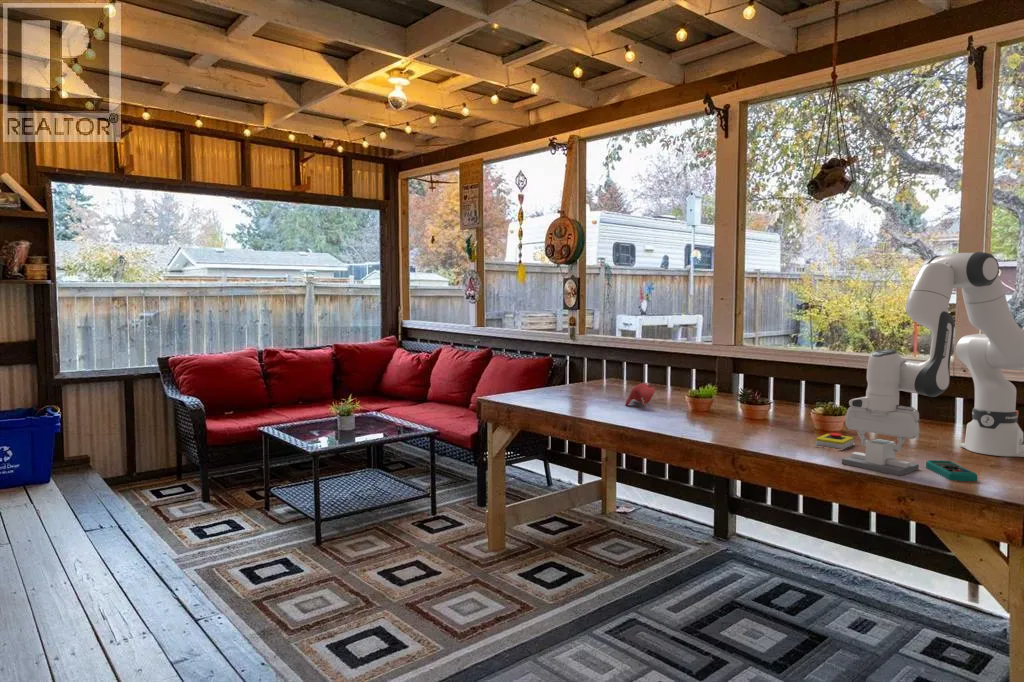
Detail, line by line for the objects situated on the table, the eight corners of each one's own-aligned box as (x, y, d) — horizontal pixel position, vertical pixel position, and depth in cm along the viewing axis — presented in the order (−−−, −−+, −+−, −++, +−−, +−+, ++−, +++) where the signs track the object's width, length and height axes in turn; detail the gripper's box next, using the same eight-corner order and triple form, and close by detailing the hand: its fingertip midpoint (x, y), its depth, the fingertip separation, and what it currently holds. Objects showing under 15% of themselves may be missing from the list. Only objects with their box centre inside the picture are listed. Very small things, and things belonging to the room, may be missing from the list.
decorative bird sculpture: (641, 420, 298) (664, 396, 297) (626, 406, 297) (649, 382, 296) (630, 409, 326) (651, 387, 325) (616, 396, 325) (637, 374, 325)
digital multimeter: (950, 482, 187) (951, 472, 186) (924, 468, 201) (925, 459, 201) (978, 483, 186) (979, 473, 185) (950, 469, 200) (951, 460, 200)
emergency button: (856, 433, 232) (840, 440, 221) (855, 445, 232) (840, 453, 221) (828, 429, 238) (812, 435, 228) (828, 441, 238) (811, 448, 228)
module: (877, 457, 207) (878, 438, 206) (894, 461, 203) (895, 441, 202) (865, 461, 202) (865, 441, 201) (882, 465, 198) (882, 444, 197)
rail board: (861, 457, 213) (861, 449, 213) (918, 469, 199) (918, 460, 199) (841, 463, 206) (842, 455, 205) (900, 475, 192) (900, 466, 192)
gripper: (924, 406, 194) (922, 453, 195) (854, 398, 211) (852, 440, 212) (914, 409, 191) (912, 456, 192) (843, 400, 207) (842, 443, 208)
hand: (880, 448), depth 202 cm, fingers open, 8 cm apart
